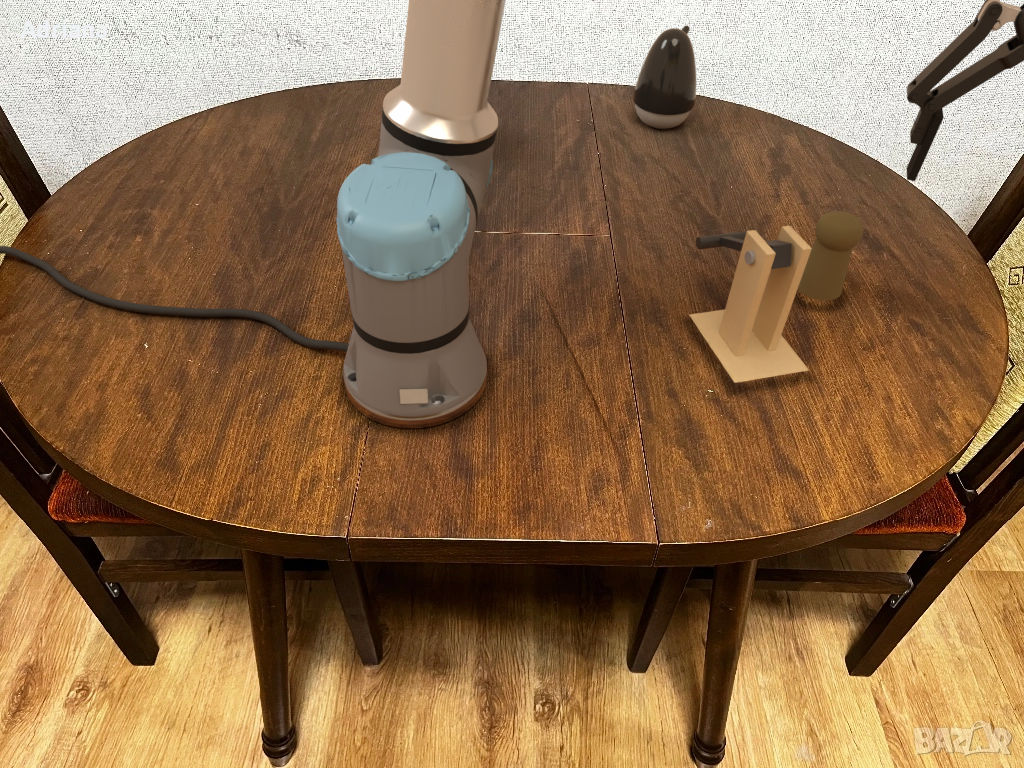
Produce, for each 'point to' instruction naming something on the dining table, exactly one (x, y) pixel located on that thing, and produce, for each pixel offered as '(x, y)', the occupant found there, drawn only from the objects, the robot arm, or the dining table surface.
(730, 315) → the bracket
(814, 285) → the cork
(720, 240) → the lever
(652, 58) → the brown white egg shape
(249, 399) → the dining table surface
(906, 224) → the dining table surface
